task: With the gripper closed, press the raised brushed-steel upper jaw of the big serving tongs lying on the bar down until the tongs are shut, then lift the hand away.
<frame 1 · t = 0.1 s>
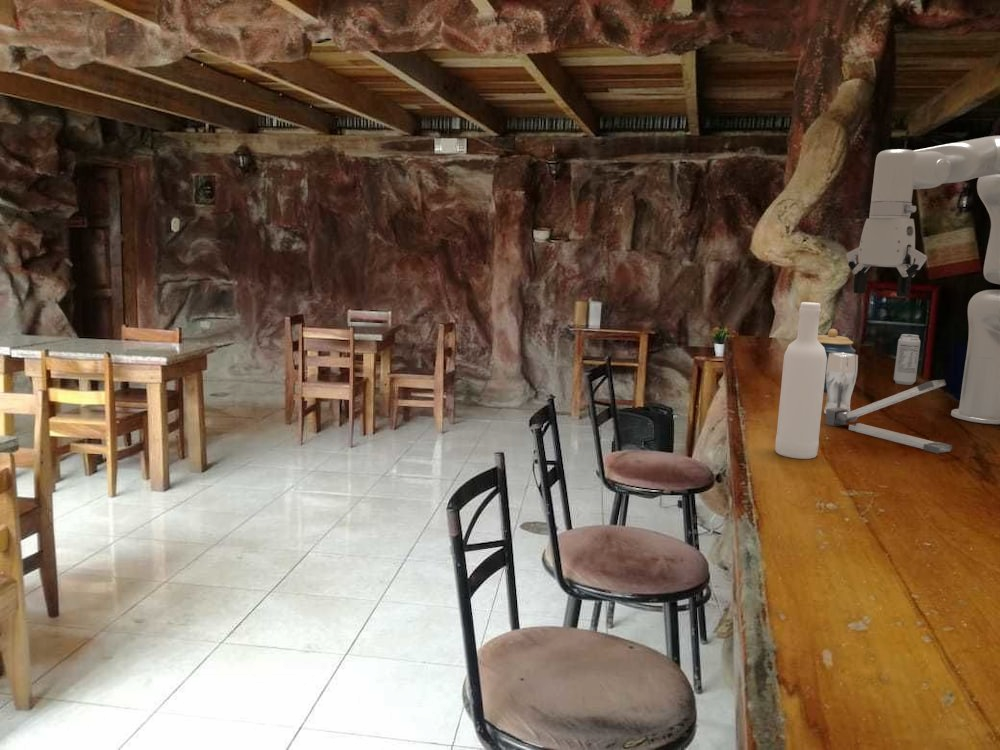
hand: (880, 294, 161), 31 cm above the table, tool pointing down, fingers open, 9 cm apart
canister: (826, 389, 223), on the table
beer glass: (836, 414, 190), on the table
bottle: (795, 454, 152), on the table
tongs base: (845, 427, 176), on the table
energy drink can: (904, 384, 236), on the table
upper jaw: (887, 401, 167), point 8 cm above the table, hinge at 30.0°
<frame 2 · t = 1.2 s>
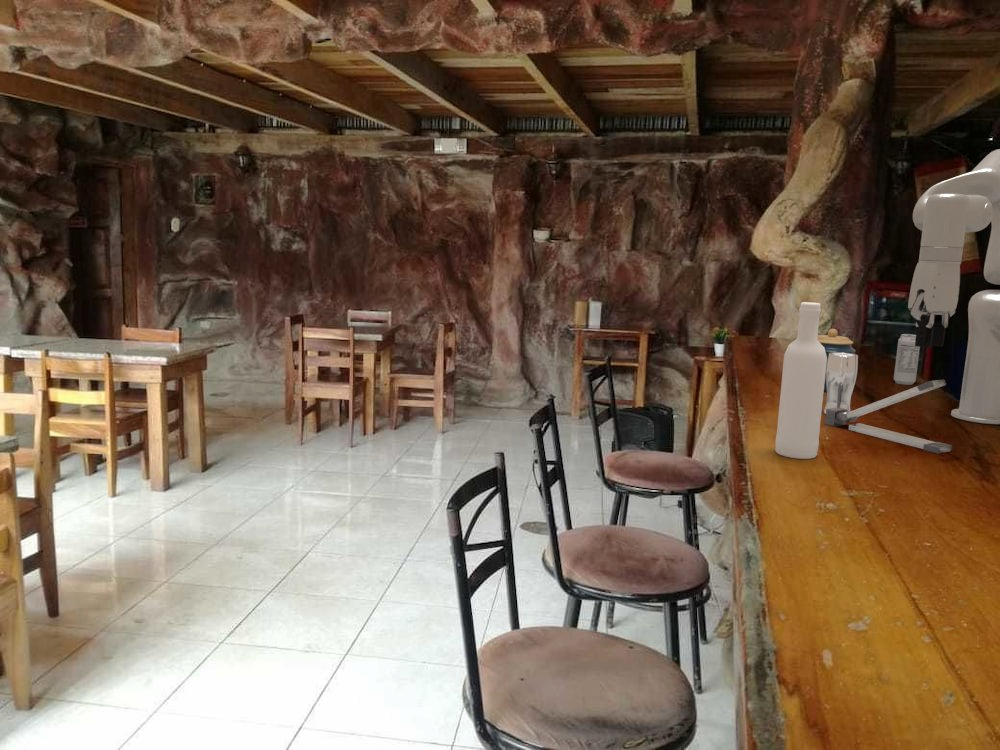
hand: (929, 345, 158), 21 cm above the table, tool pointing down, fingers open, 3 cm apart
nothing on the table moved.
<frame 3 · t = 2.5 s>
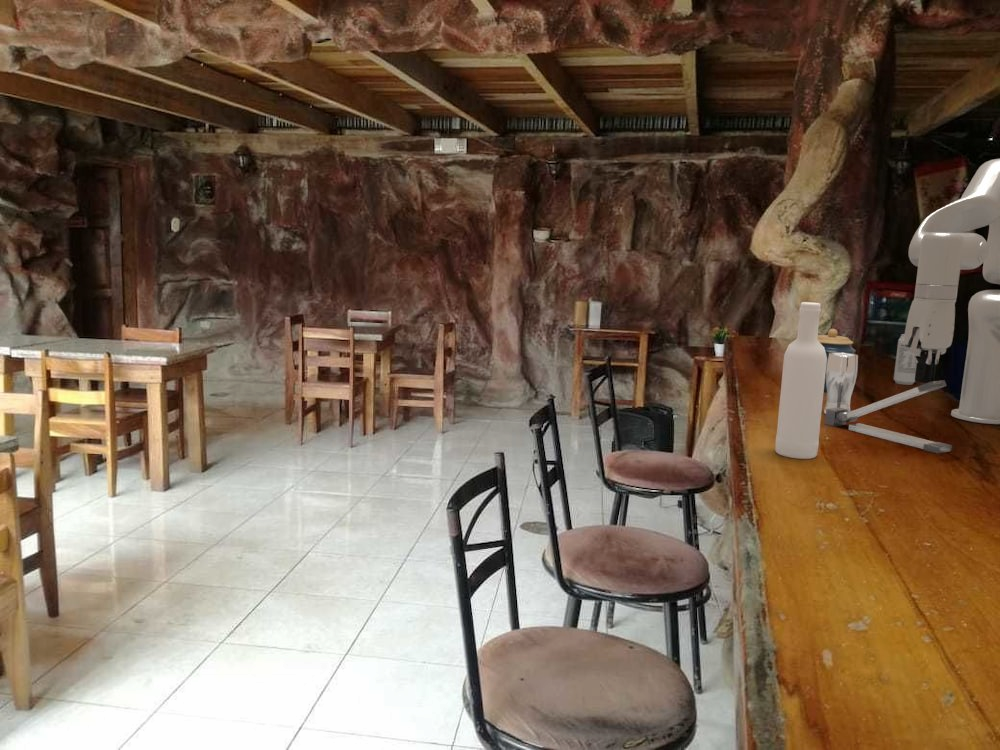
hand: (924, 382, 159), 14 cm above the table, tool pointing down, fingers closed
upper jaw: (887, 402, 167), point 8 cm above the table, hinge at 29.5°, touching gripper
everything else where it was.
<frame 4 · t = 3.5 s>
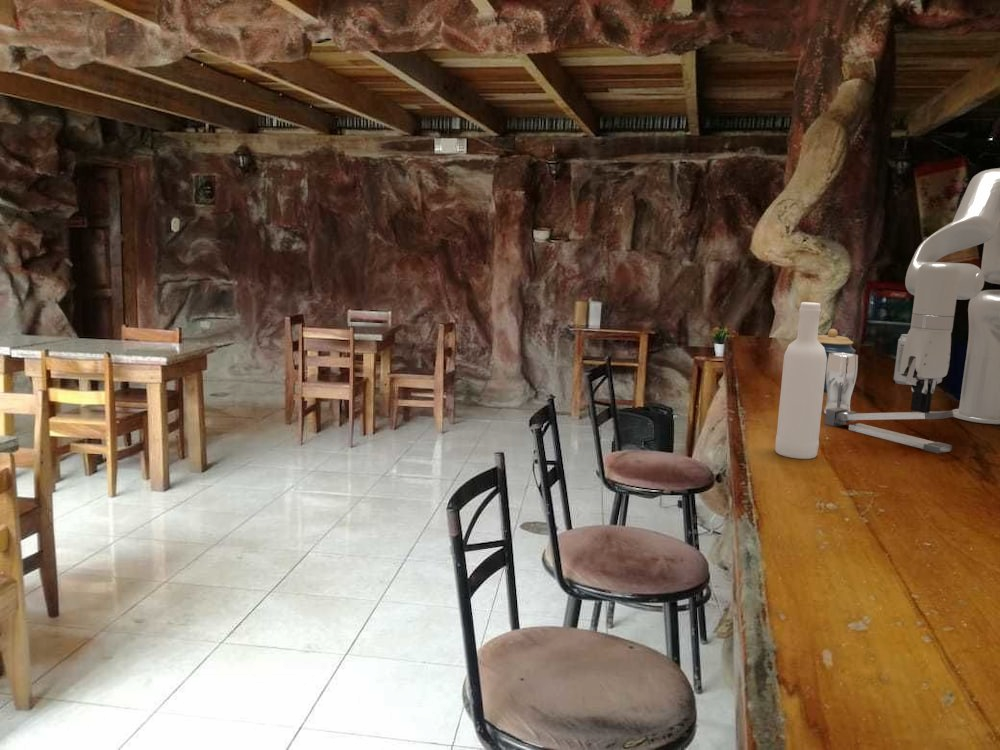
hand: (919, 411, 160), 7 cm above the table, tool pointing down, fingers closed
upper jaw: (891, 415, 166), point 5 cm above the table, hinge at 13.3°, touching gripper
everything else where it was.
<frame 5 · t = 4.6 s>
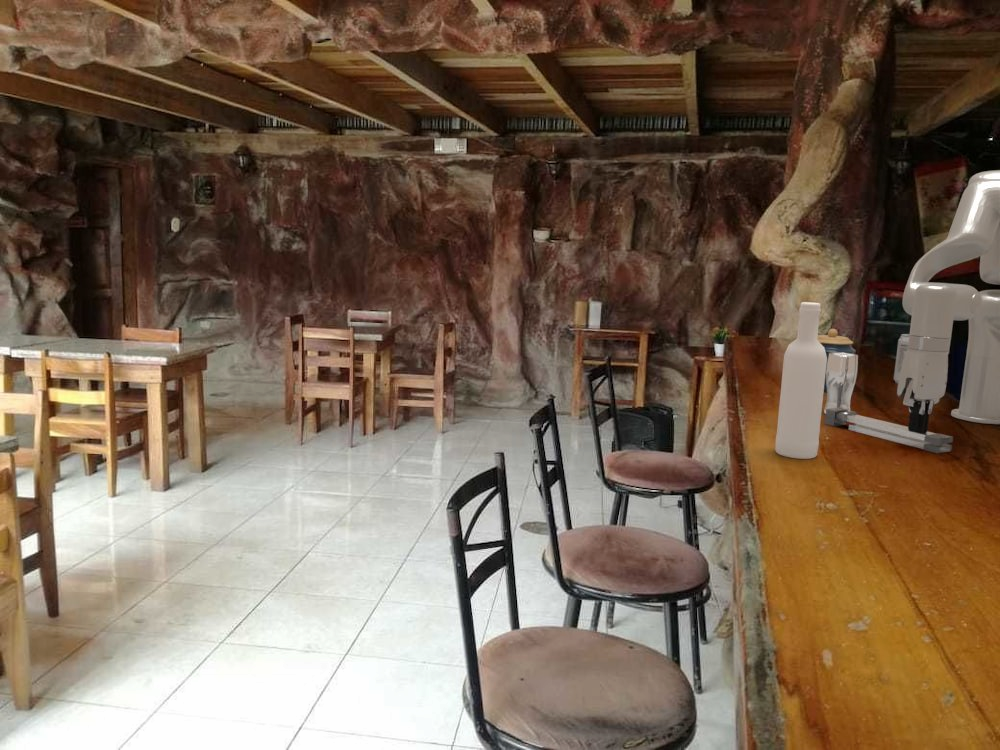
hand: (917, 431, 161), 3 cm above the table, tool pointing down, fingers closed
upper jaw: (890, 427, 166), point 2 cm above the table, hinge at 0.0°, touching gripper
everything else where it was.
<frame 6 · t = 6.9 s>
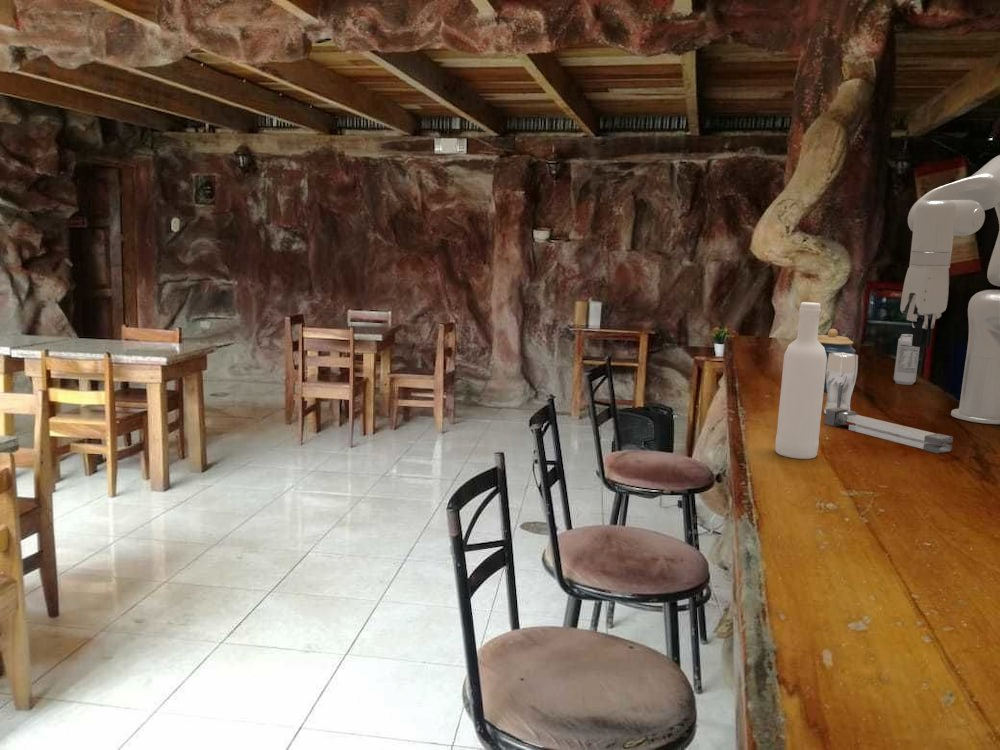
hand: (920, 346, 165), 20 cm above the table, tool pointing down, fingers closed
upper jaw: (890, 427, 166), point 2 cm above the table, hinge at 0.0°
everything else where it was.
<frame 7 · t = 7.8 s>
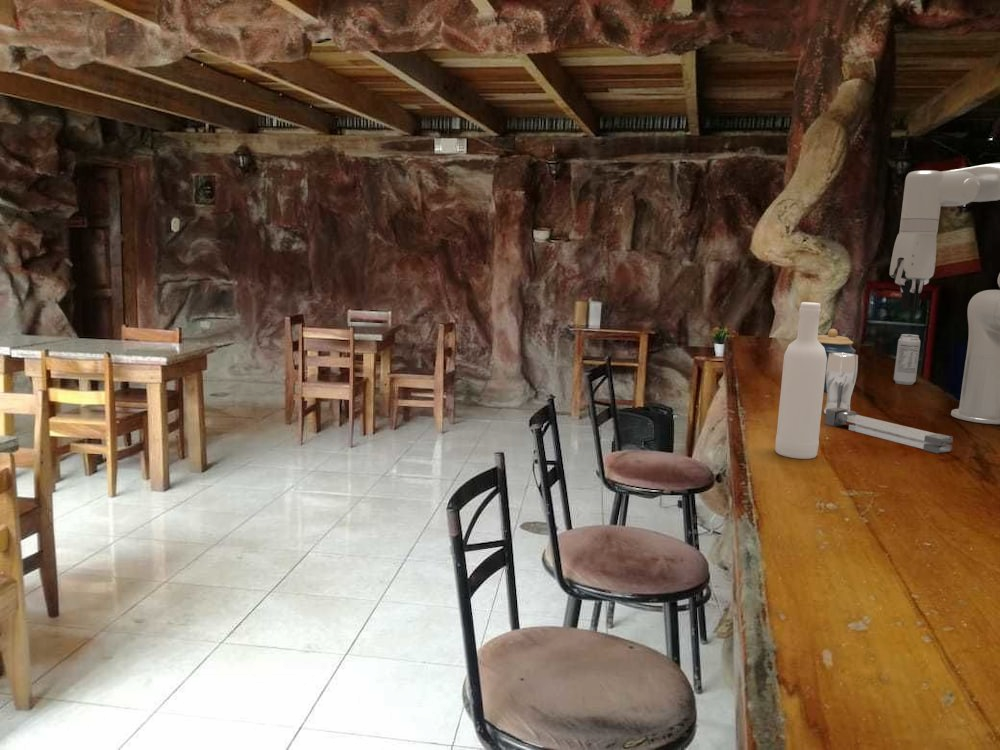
hand: (908, 310, 174), 27 cm above the table, tool pointing down, fingers closed
nothing on the table moved.
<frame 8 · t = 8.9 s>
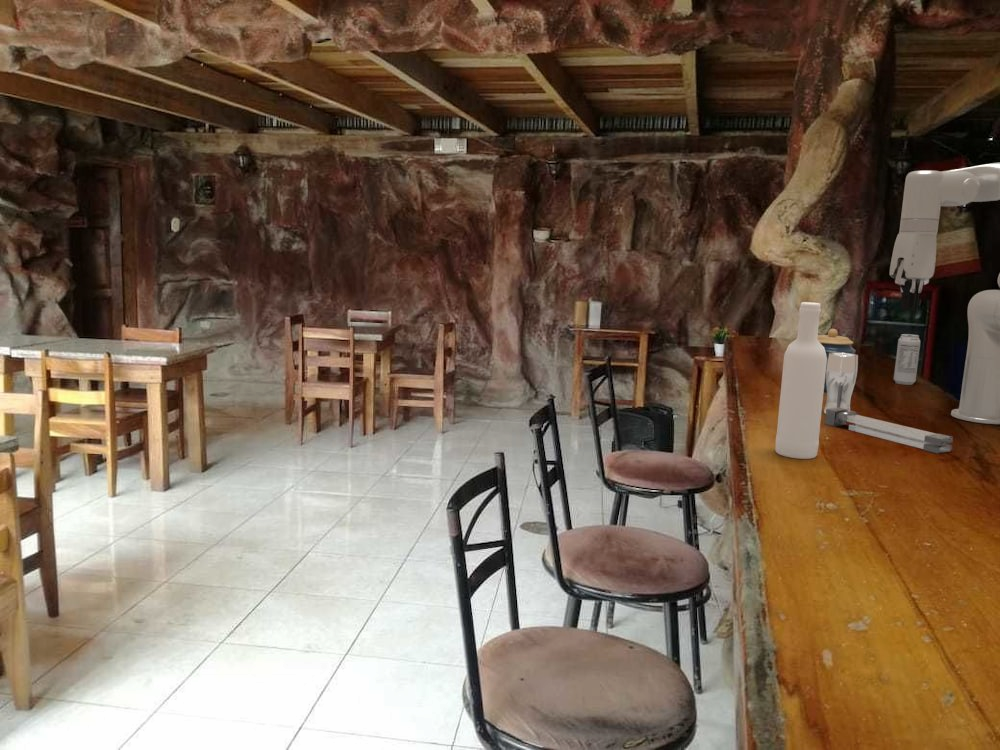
hand: (908, 310, 174), 27 cm above the table, tool pointing down, fingers closed
nothing on the table moved.
at the end: upper jaw at +0° (first picture: +30°); beer glass moved 0.2 cm from its start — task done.
